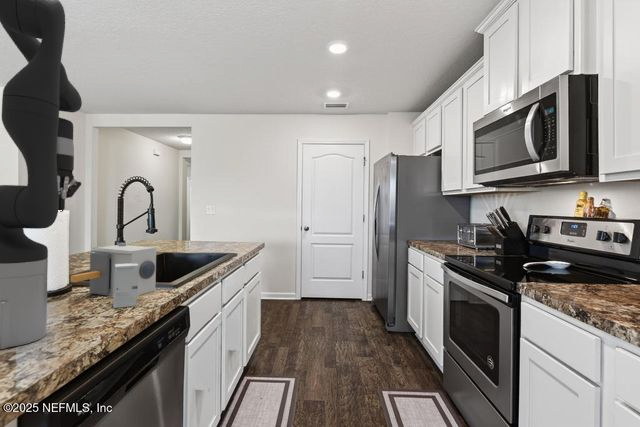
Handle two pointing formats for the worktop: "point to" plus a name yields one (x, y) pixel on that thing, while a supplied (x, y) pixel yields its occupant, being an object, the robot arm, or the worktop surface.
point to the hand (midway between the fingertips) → (57, 211)
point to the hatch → (96, 274)
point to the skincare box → (125, 285)
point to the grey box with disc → (132, 255)
